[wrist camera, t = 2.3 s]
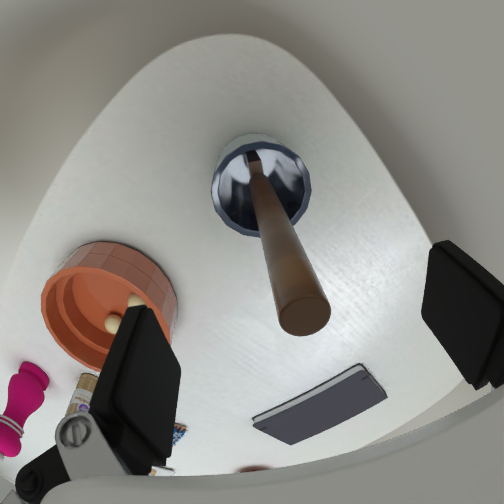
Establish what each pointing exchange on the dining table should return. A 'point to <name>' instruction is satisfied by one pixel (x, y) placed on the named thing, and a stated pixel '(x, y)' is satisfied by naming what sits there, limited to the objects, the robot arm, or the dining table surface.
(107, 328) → the dough ball
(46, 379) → the pepper mill
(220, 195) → the crock
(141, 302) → the dough ball
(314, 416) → the notebook
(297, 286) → the brown long handled piece
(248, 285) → the dining table surface
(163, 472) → the dessert
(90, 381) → the sprinkles bottle
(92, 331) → the bowl
